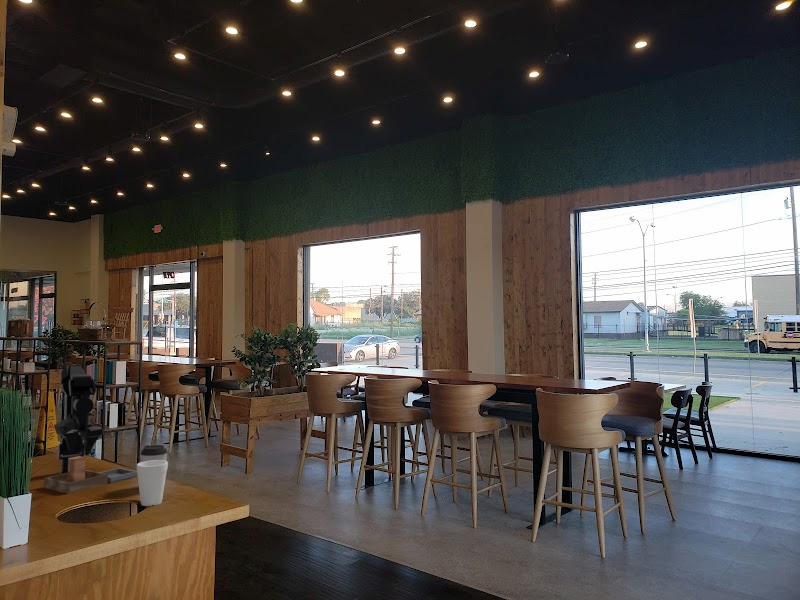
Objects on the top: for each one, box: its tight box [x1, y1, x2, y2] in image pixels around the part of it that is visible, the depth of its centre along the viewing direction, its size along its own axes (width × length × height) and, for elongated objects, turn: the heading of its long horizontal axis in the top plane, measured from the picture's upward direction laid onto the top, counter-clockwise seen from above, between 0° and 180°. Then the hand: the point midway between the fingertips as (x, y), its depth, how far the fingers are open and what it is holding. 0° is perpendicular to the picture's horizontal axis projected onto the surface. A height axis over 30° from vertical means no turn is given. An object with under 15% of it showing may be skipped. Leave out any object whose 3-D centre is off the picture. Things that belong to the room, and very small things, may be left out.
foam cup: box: [136, 460, 169, 507], centre depth 193 cm, size 10×9×13 cm
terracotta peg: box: [68, 456, 87, 483], centre depth 211 cm, size 4×4×10 cm
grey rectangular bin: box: [99, 467, 138, 484], centre depth 222 cm, size 11×11×2 cm
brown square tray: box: [43, 469, 108, 495], centre depth 210 cm, size 15×15×4 cm
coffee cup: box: [140, 444, 168, 462], centre depth 211 cm, size 9×9×15 cm
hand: (78, 453), depth 211 cm, fingers open, 9 cm apart
